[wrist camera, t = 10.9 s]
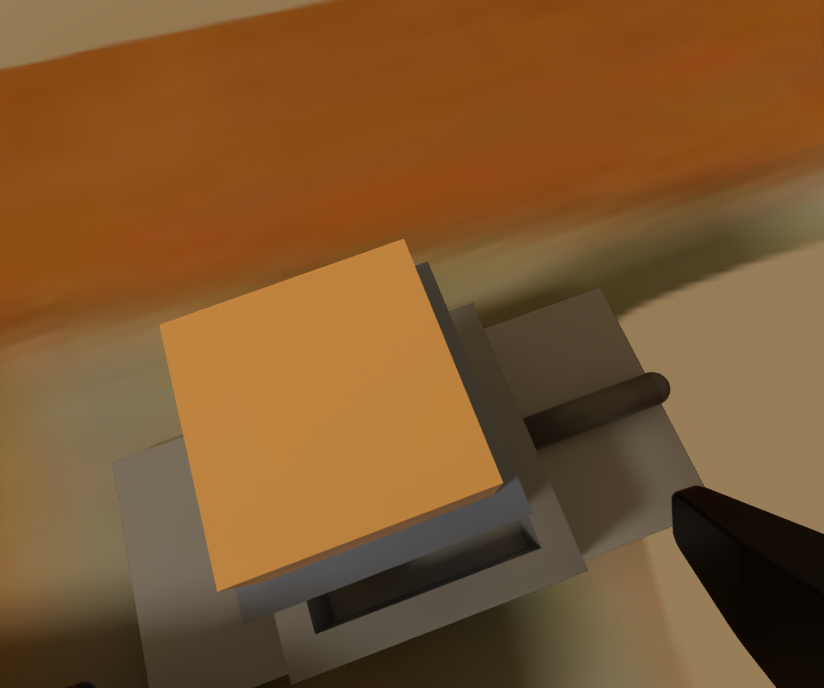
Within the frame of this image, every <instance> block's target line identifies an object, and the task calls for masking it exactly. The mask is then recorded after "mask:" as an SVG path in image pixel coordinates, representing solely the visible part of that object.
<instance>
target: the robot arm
mask: <svg viewBox="0 0 824 688" xmlns="http://www.w3.org/2000/svg"><path fill="white" fill-rule="evenodd" d="M671 505H672V525H673V534H674V538H675V541H676V543H677V545H678V547H679V549H680V551H681V552H682V554H683V555H684V557H685V558H686V560H687V561H688V563H689V564H690V566H691V567H692V569H693V571H694V572H695V574H696V575H697V577H698V578H699V580H700V581H701V583H702V584H703V586H704V587H705V589H706V591H707V592H708V594H709V595H710V597H711V598H712V600H713V602H714V603H715V605H716V606H717V608H718V609H719V610H720V612H721V614H722V615H723V617H724V618H725V620H726V622H727V623H728V624H729V626H730V628H731V629H732V631H733V632H734V633H735V635H736V636H737V638H738V639H739V640H740V642H741V643H742V645H743V646H744V647H745V649H746V650H747V651H748V652H749V654H750V655H751V656H752V657H753V659H754V660H755V661H756V663H757V664H758V665H759V666H760V668H761V669H762V670H763V671H764V672H765V674H766V675H767V676H768V678H769V679H770V680H771V682H772V683H773V684H774V685H775V687H776V688H824V534H822V533H820V532H817V531H815V530H812V529H810V528H807V527H804V526H802V525H799V524H797V523H794V522H792V521H789V520H787V519H784V518H782V517H779V516H777V515H774V514H772V513H769V512H767V511H764V510H761V509H759V508H756V507H754V506H751V505H748V504H746V503H743V502H741V501H739V500H736V499H733V498H731V497H728V496H726V495H723V494H721V493H718V492H716V491H713V490H711V489H708V488H705V487H703V486H698V485H696V486H691V487H688V488H685V489H682V490H679V491H676V492H674V493H673V495H672V499H671ZM61 688H96V687H95V686H94V685H93V683H91V682H89V681H87V680H86V681H80V682H77V683H74V684H71V685H68V686H64V687H61Z"/></svg>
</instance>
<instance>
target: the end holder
mask: <svg viewBox="0 0 824 688" xmlns="http://www.w3.org/2000/svg"><path fill="white" fill-rule="evenodd" d="M449 314H450V316H451V318H452V321H453V323H454V326H455V328H456V330H457V333H458V335H459V338H460V340H461V342H462V345H463V347H464V350H465V352H466V354H467V357H468V359H469V361H470V364H471V366H472V369H473V371H474V373H475V376H476V378H477V381H478V383H479V385H480V388H481V390H482V393H483V395H484V397H485V400H486V402H487V405H488V407H489V409H490V412H491V414H492V416H493V419H494V421H495V424H496V426H497V428H498V431H499V433H500V436H501V438H502V440H503V443H504V445H505V448H506V450H507V452H508V455H509V457H510V459H511V462H512V464H513V467H514V469H515V471H516V474H517V476H518V479H519V481H520V483H521V486H522V488H523V491H524V493H525V495H526V498H527V500H528V503H529V505H530V507H531V510H532V512H533V514H531V515H528V516H526V517H523V518H521V519H518V520H515V521H513V522H510V523H508V524H505V525H502V526H500V527H497V528H495V529H492V530H489V531H487V532H484V533H482V534H479V535H476V536H474V537H471V538H469V539H466V540H463V541H461V542H458V543H456V544H453V545H450V546H448V547H445V548H443V549H440V550H437V551H435V552H432V553H430V554H427V555H424V556H422V557H419V558H417V559H414V560H411V561H409V562H406V563H404V564H401V565H398V566H396V567H393V568H391V569H388V570H385V571H383V572H380V573H378V574H375V575H372V576H370V577H367V578H365V579H362V580H359V581H357V582H354V583H352V584H349V585H346V586H344V587H341V588H339V589H336V590H333V591H331V592H328V593H326V594H323V595H320V596H318V597H315V598H313V599H310V600H307V601H305V602H302V603H300V604H297V605H294V606H292V607H289V608H287V609H284V610H281V611H279V612H276V613H274V614H271V615H268V616H266V617H263V618H261V619H258V620H255V621H253V622H250V623H248V624H245V625H243V621H242V617H241V613H240V608H239V604H238V599H237V595H236V591H235V588H233V589H228V590H223V591H219V592H217V588H216V584H215V579H214V575H213V570H212V565H211V561H210V556H209V551H208V547H207V542H206V538H205V533H204V528H203V524H202V519H201V514H200V510H199V505H198V501H197V496H196V491H195V487H194V482H193V478H192V473H191V468H190V464H189V459H188V454H187V450H186V445H185V441H184V436H183V437H180V438H178V439H175V440H172V441H169V442H166V443H164V444H161V445H158V446H155V447H152V448H150V449H147V450H144V451H141V452H139V453H136V454H133V455H130V456H127V457H125V458H122V459H119V460H116V461H113V462H112V464H113V470H114V477H115V483H116V489H117V495H118V501H119V507H120V514H121V520H122V526H123V532H124V538H125V544H126V550H127V557H128V563H129V569H130V575H131V581H132V587H133V593H134V600H135V606H136V612H137V618H138V624H139V630H140V637H141V643H142V649H143V655H144V661H145V667H146V673H147V680H148V686H149V688H253V687H256V686H259V685H261V684H264V683H266V682H269V681H272V680H274V679H277V678H279V677H282V676H285V675H287V674H288V675H289V679H290V683H291V685H293V684H295V683H298V682H301V681H303V680H306V679H308V678H311V677H313V676H316V675H319V674H321V673H324V672H326V671H329V670H332V669H334V668H337V667H339V666H342V665H345V664H347V663H350V662H352V661H355V660H358V659H360V658H363V657H365V656H368V655H371V654H373V653H376V652H378V651H381V650H383V649H386V648H389V647H391V646H394V645H396V644H399V643H402V642H404V641H407V640H409V639H412V638H415V637H417V636H420V635H422V634H425V633H428V632H430V631H433V630H435V629H438V628H441V627H443V626H446V625H448V624H451V623H454V622H456V621H459V620H461V619H464V618H466V617H469V616H472V615H474V614H477V613H479V612H482V611H485V610H487V609H490V608H492V607H495V606H498V605H500V604H503V603H505V602H508V601H511V600H513V599H516V598H518V597H521V596H524V595H526V594H529V593H531V592H534V591H536V590H539V589H542V588H544V587H547V586H549V585H552V584H555V583H557V582H560V581H562V580H565V579H568V578H570V577H573V576H575V575H578V574H581V573H583V572H586V571H588V569H587V567H586V564H585V562H584V560H586V559H589V558H592V557H594V556H597V555H599V554H602V553H605V552H607V551H610V550H612V549H615V548H618V547H620V546H623V545H625V544H628V543H631V542H633V541H636V540H638V539H641V538H644V537H646V536H649V535H651V534H654V533H656V532H659V531H662V530H664V529H667V528H670V527H672V526H673V525H672V505H671V499H672V495H673V493H674V492H676V491H679V490H682V489H685V488H688V487H691V486H696V485H698V486H703V487H704V485H703V483H702V481H701V479H700V477H699V475H698V473H697V471H696V469H695V467H694V466H693V464H692V462H691V460H690V458H689V456H688V454H687V452H686V451H685V448H684V446H683V445H682V443H681V441H680V439H679V437H678V436H677V433H676V431H675V429H674V428H673V426H672V424H671V422H670V420H669V418H668V416H667V414H666V412H665V410H664V408H663V407H662V405H661V403H663V402H664V401H665V400H666V399H667V398H668V396H669V394H670V385H669V382H668V381H667V379H666V378H665V377H664V376H662V375H661V374H658V373H654V372H650V373H644V370H643V369H642V367H641V365H640V363H639V361H638V359H637V357H636V355H635V353H634V351H633V349H632V348H631V346H630V344H629V342H628V340H627V338H626V336H625V334H624V332H623V330H622V328H621V326H620V325H619V323H618V321H617V319H616V317H615V315H614V313H613V311H612V309H611V307H610V305H609V304H608V302H607V300H606V298H605V296H604V294H603V292H602V290H601V288H600V287H599V288H596V289H594V290H591V291H588V292H585V293H582V294H580V295H577V296H574V297H571V298H568V299H566V300H563V301H560V302H557V303H554V304H552V305H549V306H546V307H543V308H541V309H538V310H535V311H532V312H529V313H527V314H524V315H521V316H518V317H515V318H513V319H510V320H507V321H504V322H501V323H499V324H496V325H493V326H490V327H487V328H485V329H484V328H483V325H482V323H481V321H480V318H479V316H478V314H477V311H476V309H475V307H474V304H473V303H471V304H469V305H466V306H463V307H460V308H457V309H454V310H452V311H449Z"/></svg>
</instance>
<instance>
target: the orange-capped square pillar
mask: <svg viewBox="0 0 824 688" xmlns="http://www.w3.org/2000/svg"><path fill="white" fill-rule="evenodd" d="M160 330H161V334H162V339H163V344H164V348H165V353H166V357H167V362H168V367H169V371H170V376H171V381H172V385H173V390H174V394H175V399H176V404H177V408H178V413H179V418H180V422H181V427H182V431H183V436H184V441H185V445H186V450H187V454H188V459H189V464H190V468H191V473H192V478H193V482H194V487H195V491H196V496H197V501H198V505H199V510H200V514H201V519H202V524H203V528H204V533H205V538H206V542H207V547H208V551H209V556H210V561H211V565H212V570H213V575H214V579H215V584H216V588H217V592H219V591H223V590H228V589H233V588H235V591H236V595H237V599H238V604H239V608H240V613H241V617H242V621H243V625H245V624H248V623H250V622H253V621H255V620H258V619H261V618H263V617H266V616H268V615H271V614H274V613H276V612H279V611H281V610H284V609H287V608H289V607H292V606H294V605H297V604H300V603H302V602H305V601H307V600H310V599H313V598H315V597H318V596H320V595H323V594H326V593H328V592H331V591H333V590H336V589H339V588H341V587H344V586H346V585H349V584H352V583H354V582H357V581H359V580H362V579H365V578H367V577H370V576H372V575H375V574H378V573H380V572H383V571H385V570H388V569H391V568H393V567H396V566H398V565H401V564H404V563H406V562H409V561H411V560H414V559H417V558H419V557H422V556H424V555H427V554H430V553H432V552H435V551H437V550H440V549H443V548H445V547H448V546H450V545H453V544H456V543H458V542H461V541H463V540H466V539H469V538H471V537H474V536H476V535H479V534H482V533H484V532H487V531H489V530H492V529H495V528H497V527H500V526H502V525H505V524H508V523H510V522H513V521H515V520H518V519H521V518H523V517H526V516H528V515H531V514H533V512H532V510H531V507H530V505H529V503H528V500H527V498H526V495H525V493H524V491H523V488H522V486H521V483H520V481H519V479H518V476H517V474H516V471H515V469H514V467H513V464H512V462H511V459H510V457H509V455H508V452H507V450H506V448H505V445H504V443H503V440H502V438H501V436H500V433H499V431H498V428H497V426H496V424H495V421H494V419H493V416H492V414H491V412H490V409H489V407H488V405H487V402H486V400H485V397H484V395H483V393H482V390H481V388H480V385H479V383H478V381H477V378H476V376H475V373H474V371H473V369H472V366H471V364H470V361H469V359H468V357H467V354H466V352H465V350H464V347H463V345H462V342H461V340H460V338H459V335H458V333H457V330H456V328H455V326H454V323H453V321H452V318H451V316H450V314H449V311H448V309H447V306H446V304H445V302H444V299H443V297H442V295H441V292H440V290H439V287H438V285H437V283H436V280H435V278H434V275H433V273H432V271H431V268H430V266H429V263H428V262H425V263H422V264H419V265H416V266H415V265H414V263H413V260H412V258H411V255H410V253H409V250H408V248H407V246H406V243H405V241H404V239H402V240H399V241H396V242H393V243H390V244H387V245H385V246H382V247H379V248H376V249H373V250H370V251H368V252H365V253H362V254H359V255H356V256H353V257H351V258H348V259H345V260H342V261H339V262H336V263H334V264H331V265H328V266H325V267H322V268H319V269H316V270H314V271H311V272H308V273H305V274H302V275H299V276H297V277H294V278H291V279H288V280H285V281H282V282H280V283H277V284H274V285H271V286H268V287H265V288H263V289H260V290H257V291H254V292H251V293H248V294H245V295H243V296H240V297H237V298H234V299H231V300H228V301H226V302H223V303H220V304H217V305H214V306H211V307H209V308H206V309H203V310H200V311H197V312H194V313H192V314H189V315H186V316H183V317H180V318H177V319H174V320H172V321H169V322H166V323H163V324H160Z"/></svg>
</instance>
